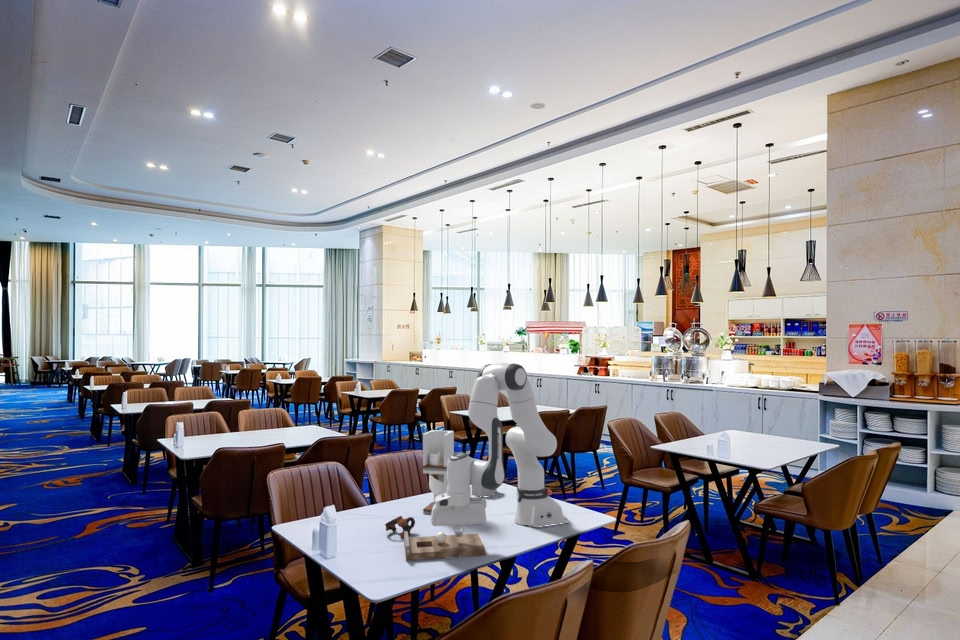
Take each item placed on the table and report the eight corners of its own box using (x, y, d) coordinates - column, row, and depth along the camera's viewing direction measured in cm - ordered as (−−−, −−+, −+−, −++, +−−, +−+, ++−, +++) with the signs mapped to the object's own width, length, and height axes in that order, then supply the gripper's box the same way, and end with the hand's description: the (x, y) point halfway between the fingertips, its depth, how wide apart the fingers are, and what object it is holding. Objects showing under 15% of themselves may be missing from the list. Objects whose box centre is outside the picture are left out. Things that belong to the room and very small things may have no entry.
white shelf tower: (432, 506, 266) (431, 430, 267) (454, 508, 263) (453, 431, 264) (423, 513, 255) (422, 434, 256) (446, 515, 252) (445, 435, 253)
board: (477, 539, 221) (477, 526, 221) (485, 555, 205) (484, 541, 206) (404, 544, 216) (404, 531, 217) (406, 560, 201) (405, 546, 201)
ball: (432, 535, 212) (440, 543, 213) (434, 539, 208) (441, 547, 209) (441, 528, 213) (448, 535, 213) (442, 531, 209) (449, 539, 209)
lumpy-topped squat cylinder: (468, 494, 286) (468, 477, 286) (486, 489, 295) (486, 472, 295) (484, 498, 278) (484, 480, 279) (501, 493, 288) (501, 475, 288)
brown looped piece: (396, 542, 220) (387, 522, 222) (388, 546, 228) (379, 527, 230) (422, 528, 227) (413, 508, 229) (414, 532, 235) (405, 513, 237)
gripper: (484, 494, 217) (484, 531, 217) (430, 497, 214) (430, 535, 213) (487, 499, 211) (488, 537, 210) (432, 502, 207) (432, 541, 207)
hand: (458, 536), depth 212 cm, fingers closed
